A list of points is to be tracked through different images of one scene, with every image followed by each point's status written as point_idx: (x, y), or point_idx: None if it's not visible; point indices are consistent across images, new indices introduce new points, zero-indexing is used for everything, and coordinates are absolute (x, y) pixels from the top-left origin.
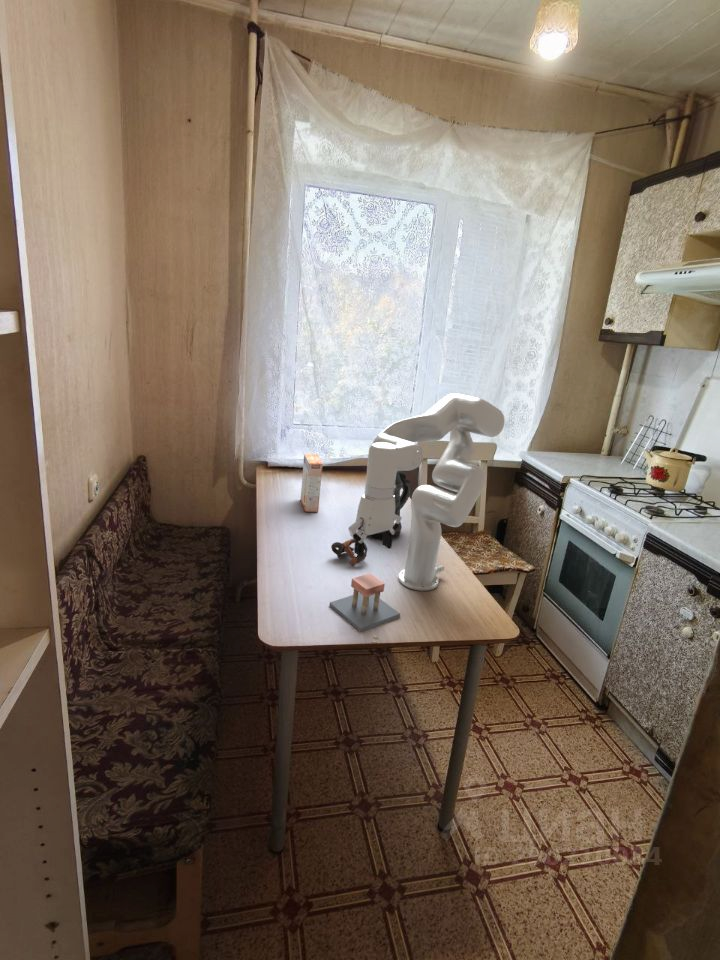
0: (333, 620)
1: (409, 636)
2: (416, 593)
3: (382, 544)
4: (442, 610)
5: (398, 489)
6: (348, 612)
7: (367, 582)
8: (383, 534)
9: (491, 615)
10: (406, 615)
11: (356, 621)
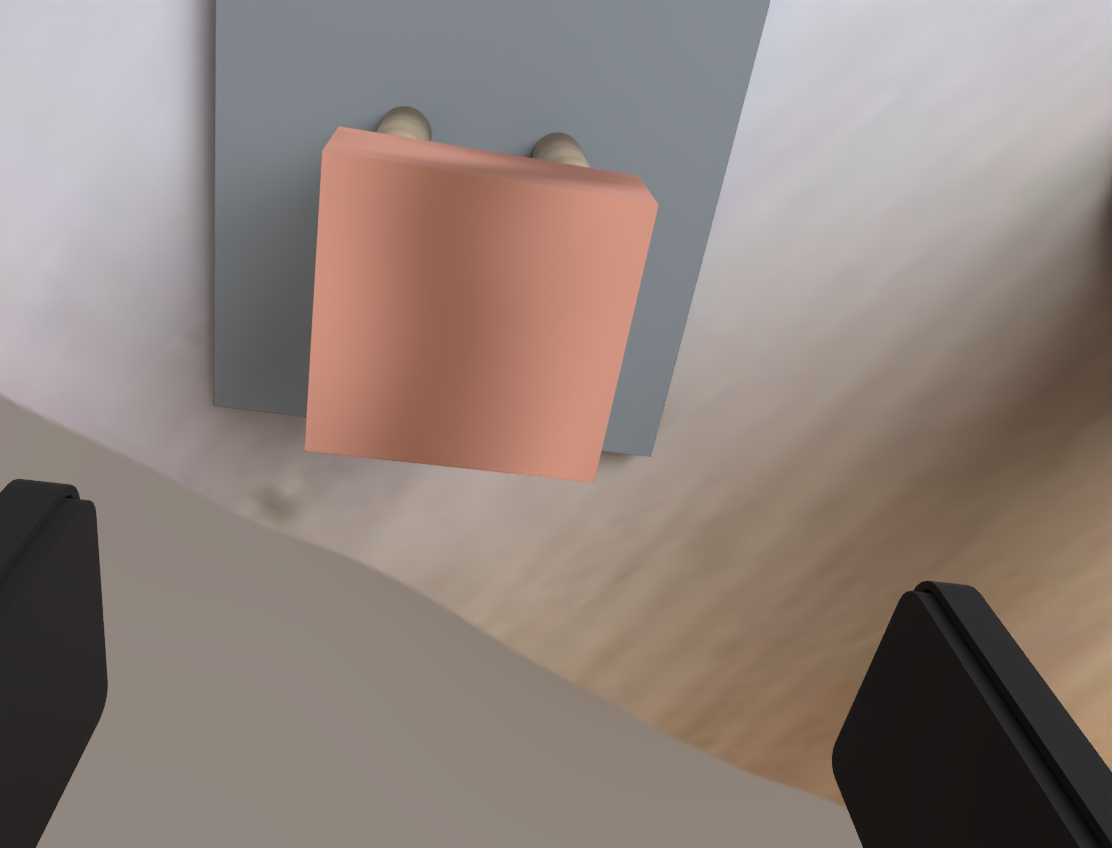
0: (105, 131)
1: (496, 614)
2: (1073, 310)
3: (904, 600)
4: (957, 566)
5: None
6: (276, 174)
7: (436, 351)
8: (1047, 818)
9: (1104, 750)
10: (701, 460)
11: (246, 322)
